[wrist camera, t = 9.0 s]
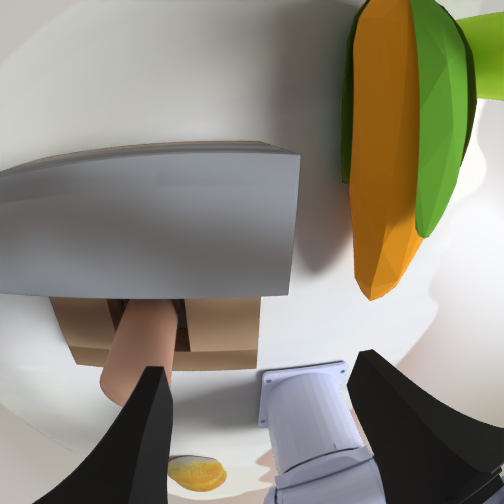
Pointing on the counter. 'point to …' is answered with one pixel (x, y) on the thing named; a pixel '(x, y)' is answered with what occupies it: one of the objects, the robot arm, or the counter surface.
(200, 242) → the socket station
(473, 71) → the corn
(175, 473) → the bread roll
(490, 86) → the soap dispenser
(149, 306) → the peg
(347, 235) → the counter surface
